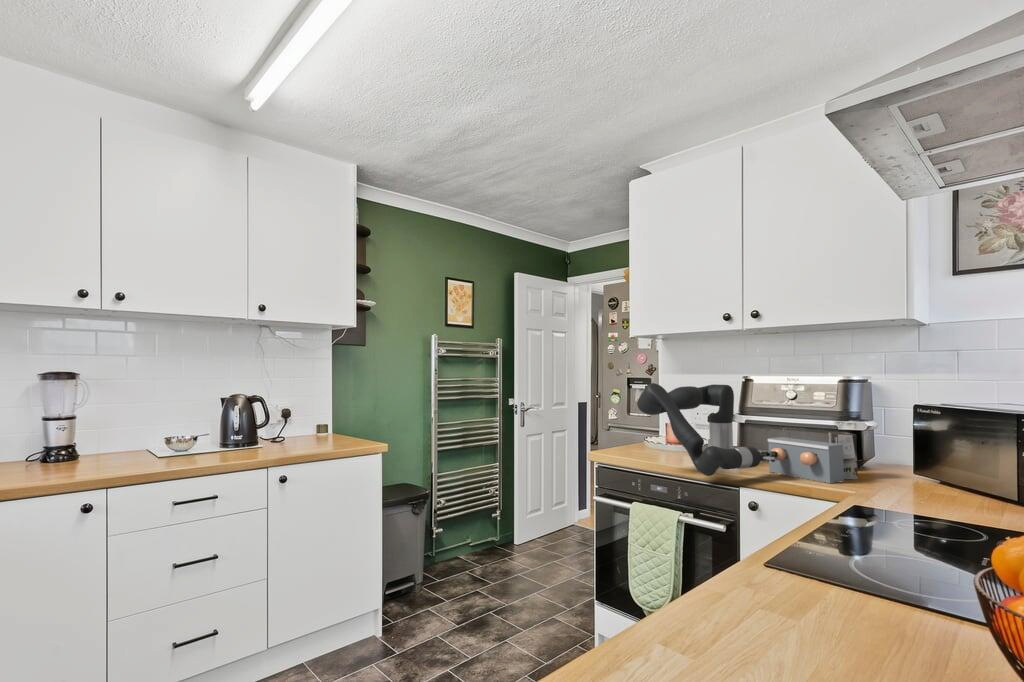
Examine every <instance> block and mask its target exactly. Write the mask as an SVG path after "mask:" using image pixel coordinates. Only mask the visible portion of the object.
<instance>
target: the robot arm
mask: <svg viewBox="0 0 1024 682" xmlns="http://www.w3.org/2000/svg"><path fill="white" fill-rule="evenodd" d="M734 404H735V393H734V390H733V388H732V386H730V385H729V384H709V385H704V386H700V387H696V386H680V387H675V388H673V389H672V390H671V391H667V390H666V389H665V388H664V387H663V386H661V385H660V384H657V383H655V382H650V383H648V384H647V385H646V387H645V388H644V390H642V392H641V393H640V395H639V396H638V399H637V402H636V405H637V409H639V411H640V412H642V413H644V414H646V415H650V416H656V415H661V414H664V413H666V415H667V417H668V421H669V424H670V427H671V431H672V433H673V435H674V436H675V437H674V438H676V439H677V441H678V443H680V444H681V446H682V447H683V448H684V449H685V450H686V451H687V453H688V456H689V458H690V459H691V462H692V464H693V466H694V467H695V468H696V470H697V471H698V472H699V473H700V474H702V475H704V476H706V477H710V476H711V477H712V476H713V475H714V474H715V473H716V472H717V471H718V469H719V468H721V469H723V470H734V469H737V470H738V469H740V470H741V469H742V470H743V469H750V468H756V467H758V465H760V463H764V462H769V459H770V461H771V462H775V458H777V457H778V453H777V452H776V451H769V450H758V449H757V448H756V447H755V446H751V445H749V446H748V445H747V446H738V447H737V446H736V447H734V435H733V434H734V433H733V432H734V431H733V417H734V414H735V413H734V412H735V411H734V407H735V405H734ZM700 405H701V406H702V405H704V406H711V407H712V406H713V407H718V411H717V412H715V413H712V414H709V416H708V417H709V418H708V422H709V438H708V439H707V447H706V448H705V449H704V450H703V447H704V444H705V440H704V439H703V437H702V435H700V434H699V433H698V432H697V430H696V429H695V428H694V427H693V426H692V425H691V424H690V422H688V420H687V419H686V418H685V416H684V415H683V413H682V412H681V410H682V411H683V410H692V409H693V410H694V409H696V408H698V407H699V406H700Z"/></svg>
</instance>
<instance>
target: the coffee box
mask: <svg viewBox="0 0 1024 682" xmlns="http://www.w3.org/2000/svg"><path fill="white" fill-rule="evenodd" d="M857 442H858V441H857V434H855V433H852V432H846V431H834V432H833V431H829V432H828V443H835V444H843V463H844V480H856V479H857V480H858V479H859V476H858V451H857V449H858V448H857V447H858V445H857Z"/></svg>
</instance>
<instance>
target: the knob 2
mask: <svg viewBox="0 0 1024 682" xmlns="http://www.w3.org/2000/svg"><path fill="white" fill-rule="evenodd" d="M800 460H801V462H802V463H803V464H804V465H813V464H815V463H816V462H817V455H815V454H814V453H813V452H806V453H802V454H801V455H800Z"/></svg>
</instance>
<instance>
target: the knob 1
mask: <svg viewBox="0 0 1024 682" xmlns="http://www.w3.org/2000/svg"><path fill="white" fill-rule="evenodd" d="M771 451H776V452H777V453H778V457H777V458H775V460H783V459H785V458H786V456H787V453H786V450H784V449H783V448H774V449H772V450H771Z"/></svg>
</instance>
